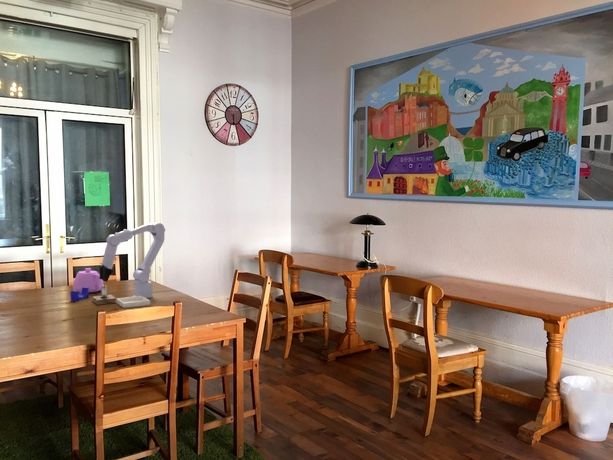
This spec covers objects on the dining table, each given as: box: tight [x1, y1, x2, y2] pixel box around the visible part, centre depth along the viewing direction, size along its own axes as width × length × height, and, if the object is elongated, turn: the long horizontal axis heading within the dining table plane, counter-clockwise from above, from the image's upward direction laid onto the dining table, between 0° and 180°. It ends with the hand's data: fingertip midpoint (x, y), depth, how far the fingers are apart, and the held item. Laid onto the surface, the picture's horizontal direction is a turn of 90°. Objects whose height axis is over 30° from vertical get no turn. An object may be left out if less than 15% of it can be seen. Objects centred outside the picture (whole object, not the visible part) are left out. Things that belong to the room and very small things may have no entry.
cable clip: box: [70, 287, 90, 302], centre depth 300 cm, size 12×4×6 cm, turn 169°
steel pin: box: [101, 284, 108, 298], centre depth 294 cm, size 3×3×9 cm
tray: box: [116, 296, 151, 309], centre depth 290 cm, size 14×14×2 cm
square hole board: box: [92, 294, 117, 306], centre depth 294 cm, size 10×10×2 cm
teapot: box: [72, 267, 104, 293], centre depth 323 cm, size 22×22×14 cm
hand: (103, 280), depth 293 cm, fingers open, 7 cm apart
